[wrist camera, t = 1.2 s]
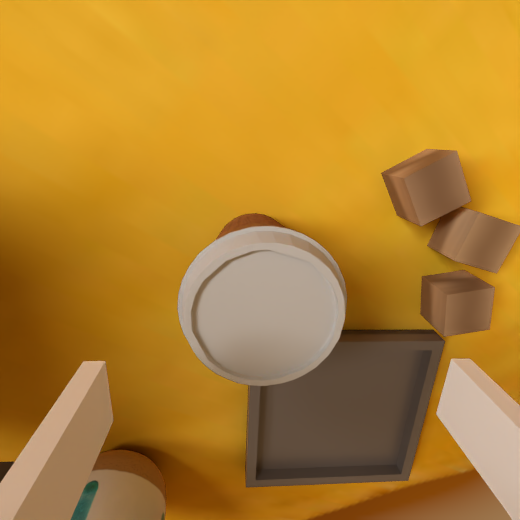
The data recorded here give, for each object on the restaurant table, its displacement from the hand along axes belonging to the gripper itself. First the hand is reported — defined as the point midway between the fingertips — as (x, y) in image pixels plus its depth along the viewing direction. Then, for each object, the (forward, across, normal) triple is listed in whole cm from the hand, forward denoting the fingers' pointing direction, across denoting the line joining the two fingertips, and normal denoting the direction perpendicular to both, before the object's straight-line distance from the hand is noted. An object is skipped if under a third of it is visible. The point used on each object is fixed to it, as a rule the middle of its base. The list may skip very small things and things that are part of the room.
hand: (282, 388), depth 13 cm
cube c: (+17, +13, +6) cm, 22 cm away
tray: (+17, +9, -17) cm, 26 cm away
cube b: (+17, +18, +2) cm, 25 cm away
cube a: (+17, +18, -4) cm, 25 cm away
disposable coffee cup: (+17, 0, 0) cm, 17 cm away
